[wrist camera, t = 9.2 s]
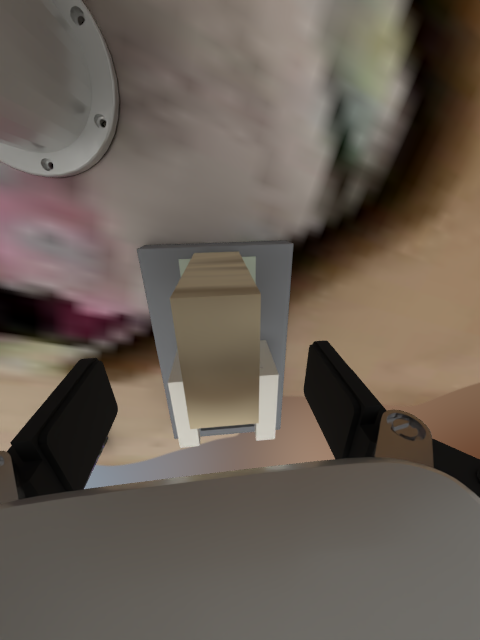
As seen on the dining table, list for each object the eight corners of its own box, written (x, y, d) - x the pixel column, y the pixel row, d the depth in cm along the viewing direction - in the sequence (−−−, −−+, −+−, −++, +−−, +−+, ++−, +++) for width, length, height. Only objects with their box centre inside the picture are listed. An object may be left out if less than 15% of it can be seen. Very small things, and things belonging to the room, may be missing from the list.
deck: (144, 245, 23) (136, 249, 21) (286, 240, 24) (293, 244, 22) (177, 423, 33) (174, 440, 31) (275, 414, 34) (280, 430, 32)
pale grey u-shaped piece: (178, 345, 25) (167, 382, 20) (265, 340, 26) (278, 374, 20) (187, 402, 29) (180, 447, 23) (264, 396, 29) (274, 439, 24)
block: (194, 253, 21) (169, 298, 10) (238, 251, 21) (261, 294, 11) (202, 332, 24) (190, 429, 14) (240, 329, 25) (258, 423, 14)
